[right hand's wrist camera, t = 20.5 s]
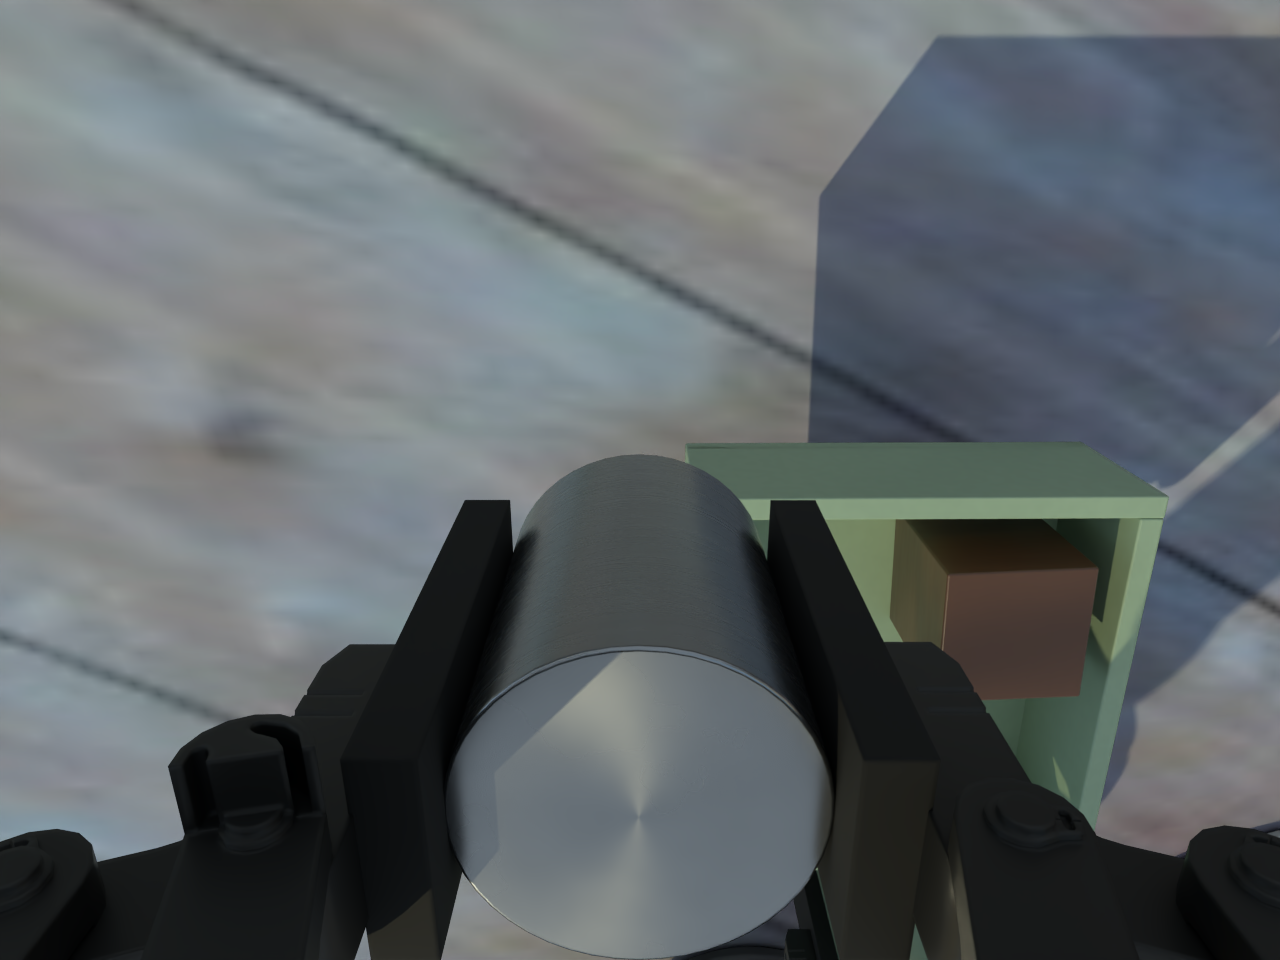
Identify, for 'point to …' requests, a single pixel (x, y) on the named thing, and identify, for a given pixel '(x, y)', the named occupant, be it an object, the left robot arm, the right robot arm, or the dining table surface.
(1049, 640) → the walnut block
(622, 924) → the grey metal peg
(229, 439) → the dining table surface
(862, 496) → the tray
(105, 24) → the dining table surface
